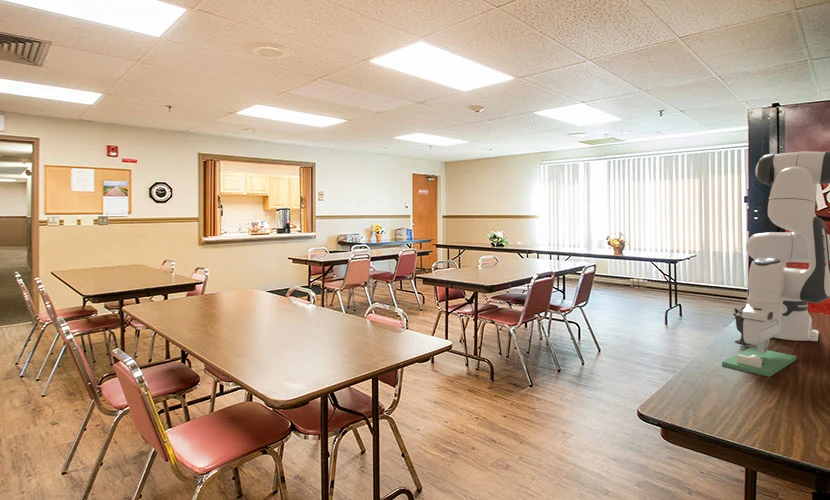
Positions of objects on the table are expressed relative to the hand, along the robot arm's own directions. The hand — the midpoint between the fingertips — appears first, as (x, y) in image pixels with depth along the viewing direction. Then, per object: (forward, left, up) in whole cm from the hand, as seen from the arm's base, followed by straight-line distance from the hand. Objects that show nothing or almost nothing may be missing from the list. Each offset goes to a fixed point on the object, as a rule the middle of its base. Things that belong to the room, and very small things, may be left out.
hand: (761, 352), depth 140 cm
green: (+2, 0, -3) cm, 4 cm away
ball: (+7, 0, -1) cm, 7 cm away
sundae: (-18, -11, -3) cm, 21 cm away
